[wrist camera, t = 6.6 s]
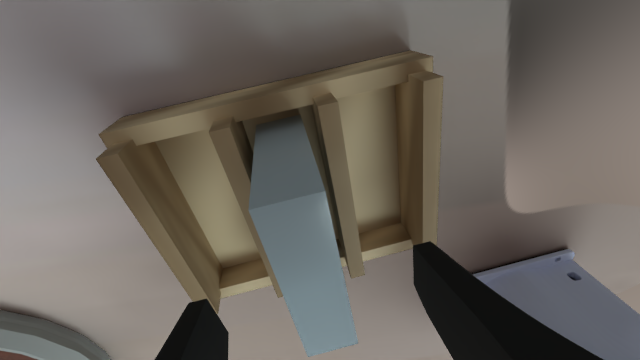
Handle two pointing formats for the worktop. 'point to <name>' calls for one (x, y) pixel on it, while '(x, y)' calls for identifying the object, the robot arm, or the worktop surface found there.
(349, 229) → the rack
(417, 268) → the robot arm
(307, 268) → the upright pale blue slab
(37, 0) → the worktop surface
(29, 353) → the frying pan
